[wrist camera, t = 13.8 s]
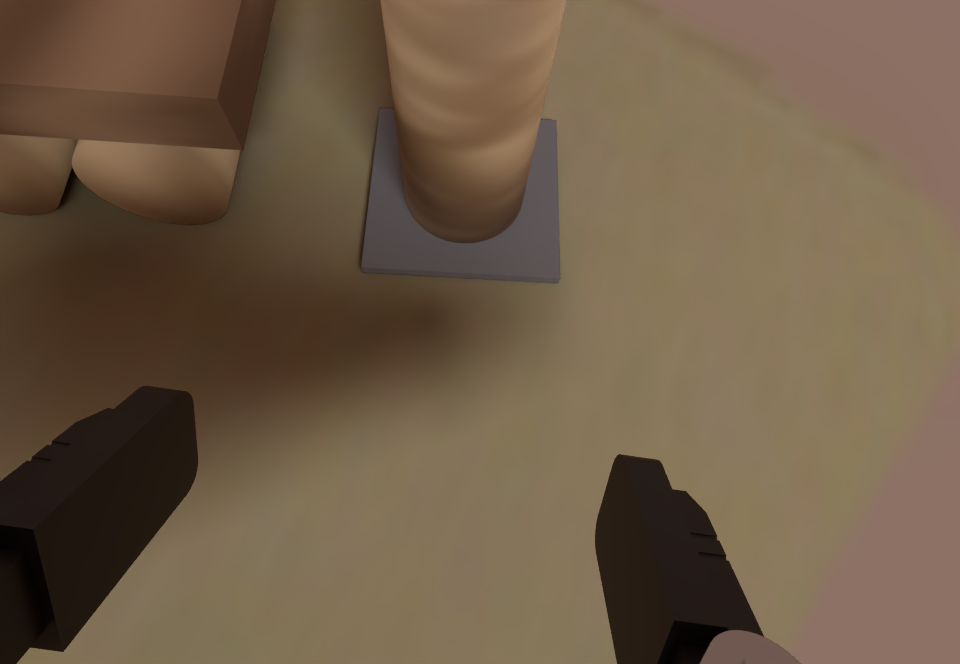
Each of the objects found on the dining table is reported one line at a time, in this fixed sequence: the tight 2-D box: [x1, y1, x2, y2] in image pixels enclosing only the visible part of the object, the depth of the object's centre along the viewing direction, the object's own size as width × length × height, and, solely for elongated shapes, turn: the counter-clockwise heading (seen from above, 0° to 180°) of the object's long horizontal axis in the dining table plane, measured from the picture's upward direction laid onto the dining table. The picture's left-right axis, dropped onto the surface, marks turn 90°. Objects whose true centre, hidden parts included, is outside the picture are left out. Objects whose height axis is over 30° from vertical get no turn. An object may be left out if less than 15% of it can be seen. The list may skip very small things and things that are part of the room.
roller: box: [381, 0, 566, 243], centre depth 16 cm, size 4×4×10 cm
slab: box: [0, 0, 276, 225], centre depth 19 cm, size 12×10×6 cm
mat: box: [361, 108, 560, 283], centre depth 21 cm, size 7×7×1 cm
